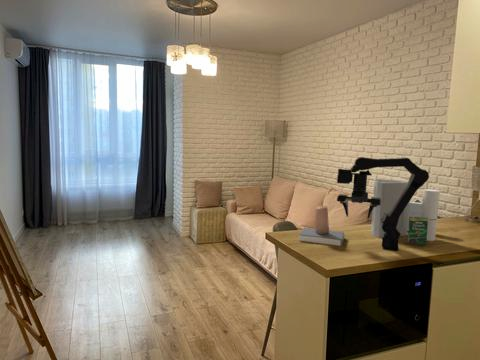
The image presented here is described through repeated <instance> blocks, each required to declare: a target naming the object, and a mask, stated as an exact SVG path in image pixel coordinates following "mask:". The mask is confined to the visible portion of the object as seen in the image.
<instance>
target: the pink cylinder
mask: <svg viewBox="0 0 480 360" xmlns="http://www.w3.org/2000/svg"><path fill="white" fill-rule="evenodd" d="M328 209H329V208H328V206H326V205H317V206H314V207H313V215H314V226H315V228H314V229H316V233H317V234H321V235H323V234H328V233H329V230H330V224H329V223H330V221H329V211H328Z"/></svg>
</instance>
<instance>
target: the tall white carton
mask: <svg viewBox="0 0 480 360" xmlns="http://www.w3.org/2000/svg"><path fill="white" fill-rule="evenodd" d="M408 182H409V180H408V181H406V180H398V179H396V180H395V179H386V178H385V179H382V178H375V179H374V185H373V186H374V187H373V197H377V198H380V199H381V204H380V205H379V206H378V205H377V207H374V208H373V210H372V212H371V225H370V227H371V228H370V232H371V234H372V235H371V236H373V237H376V238H377V239H382V238H383V237H384V234H385V232H384V231H383V229H382V228H381V226H380V222H381V220H380V219H381V218H382V217H383V215H384V213H386V214H388V213H390V212H391V210H392V209H393V207H394V206H395V204H396V203H397V201H398V200H399V198H400V196H401V195H402V193H403V192H404V190H405V189H406V187H407V186H408ZM410 202H411V200H410V201H409V203H410ZM409 203H408V204H407V206H406V208H405V209H404V211H403V212H402V214H401V215H400V217H399V221H398V224H397V227H396V229H397V230H398V231H399V233H400V236H399V237H401V236H403V237H404V236H407V235H408V233H407V232H408V231H407V225H408V214H409Z"/></svg>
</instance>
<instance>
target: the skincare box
mask: <svg viewBox="0 0 480 360" xmlns="http://www.w3.org/2000/svg"><path fill="white" fill-rule="evenodd" d="M422 203H423V202H417V201H416V202H415V201H410V203H409V214H408V225H407V232H409V217H421V214H422Z"/></svg>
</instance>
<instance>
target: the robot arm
mask: <svg viewBox="0 0 480 360" xmlns="http://www.w3.org/2000/svg"><path fill="white" fill-rule="evenodd" d="M353 164H354V165H352V167H350V168H349V169H344V168H337V169H338V171H337V177H336V183H337V184H343V185H350V183H353V186H352V192H351V196H349V194H343V193H341V194H340V193H339V194H338V195H337V198H336V201H337V202H339V204H341V205H342V206H343V209H344V212H345V215H346V217H347V218H348V216H349V201H350V202H351V203H358V204H363V203H367V204H368V203H369V209H368V212H367V220H369V219H370V217H371V215H372V210H373V208H374V207H377V205H378V206H379V205H380V204H381V199H380V198H377V197H374V196H371V198H369V192H368V191H367V183H368V176H372V175H373V174H372V173H371V172H370V170H371V169H374V168H399V167H401V168H402V167H403V168H404V169H405V170H406V171H408V173H410V177H409V179H408V186H407V187H406V189H405V190H404V192H403V193H402V195H401V196H400V198H399V200H398V201H397V203H396V204H395V206H394V207H393V209H392V210H391V212H390V213H388V214H386V213H384V215H383V217H382V218H381V219H380V220H381V222H380V226H381V228H382V229H383V231H384V232H385V234H384V237H383V238H381V240H382V241H381V247H382V250H389V251H396V252H398V251H399V241H400V237H401V236H400V233H399V231H398V230H397V229H396V227H397V224H398V221H399V217H400V215H401V214H402V212H403V211H404V209H405V208H406V206H407V204H408V203H409V201H410V202H411V200H412V198H413V197H414V196H415V194H416V192H417V191H418V190H419V189H420V188H422V187H423V186H424V184H425V183H427V181H428V180H429V179H430V174H429V172H428V171H427V170H426V169H422V168H420V167H419V166H418V165H417V164H415V163H414V162H413V161H412V160H411V159H410V158H408V157H400V158H399V157H398V158H397V157H396V158H370V157H365V156H359V157H357V158H356V159H355V160H354V163H353Z"/></svg>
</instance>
